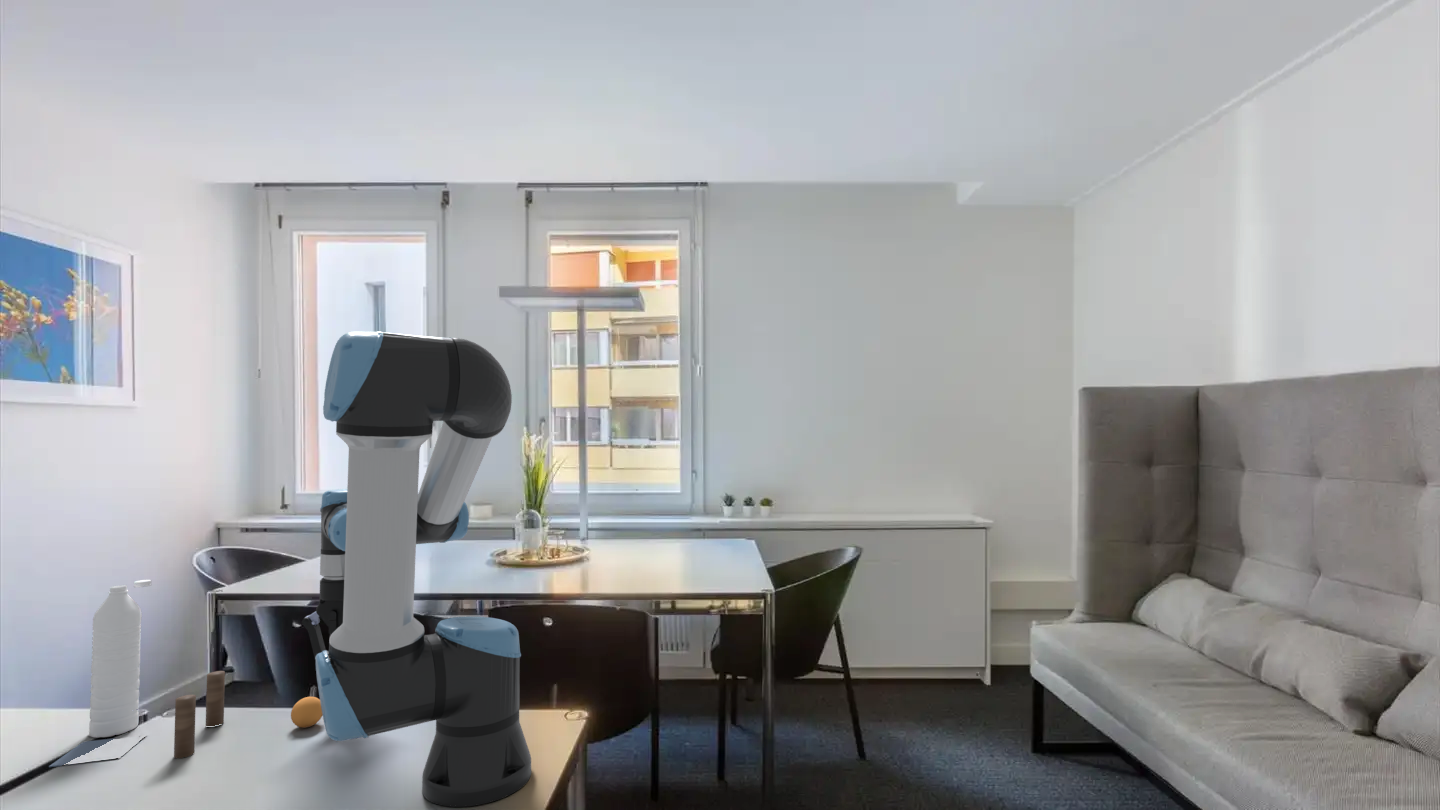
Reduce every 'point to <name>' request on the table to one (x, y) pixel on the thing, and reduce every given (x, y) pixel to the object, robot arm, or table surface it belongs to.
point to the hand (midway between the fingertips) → (341, 707)
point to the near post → (184, 726)
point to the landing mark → (79, 751)
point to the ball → (306, 712)
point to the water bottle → (116, 664)
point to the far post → (215, 698)
